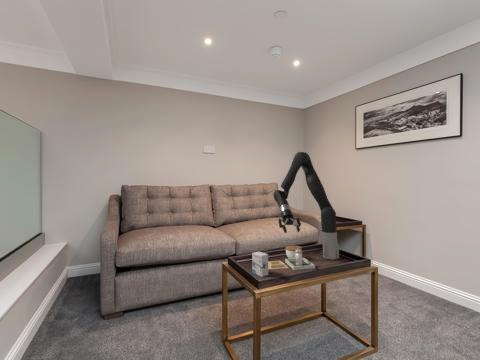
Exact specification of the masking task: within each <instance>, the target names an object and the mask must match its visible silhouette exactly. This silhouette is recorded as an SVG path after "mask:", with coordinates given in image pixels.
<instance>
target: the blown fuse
mask: <svg viewBox="0 0 480 360" xmlns="http://www.w3.org/2000/svg"><path fill="white" fill-rule="evenodd" d="M295 257H296V261H295V266H304V265H303V262H304V261H302V258H303V249H302V250H301V249H296V250H295Z"/></svg>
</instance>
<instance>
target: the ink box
mask: <svg viewBox="0 0 480 360" xmlns="http://www.w3.org/2000/svg"><path fill="white" fill-rule="evenodd" d="M251 255H252V256H251V257H252V259H251V260H252V261H251V262H252V264H251V266H252V268H251V269H252V271H251V273H252V274H255V275H257V276H259V277H261V278H262V277H265V276H269V269H268V261H269V254H268V253H265V252H261V251H255V252H252V253H251Z"/></svg>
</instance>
